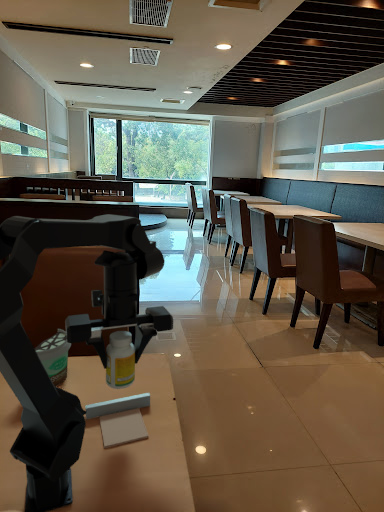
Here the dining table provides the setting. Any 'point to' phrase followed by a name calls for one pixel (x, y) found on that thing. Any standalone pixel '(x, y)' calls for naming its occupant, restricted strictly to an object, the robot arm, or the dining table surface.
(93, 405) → the low wall
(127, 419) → the mat
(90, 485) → the dining table surface
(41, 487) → the robot arm
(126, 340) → the supplement bottle
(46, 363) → the food container
